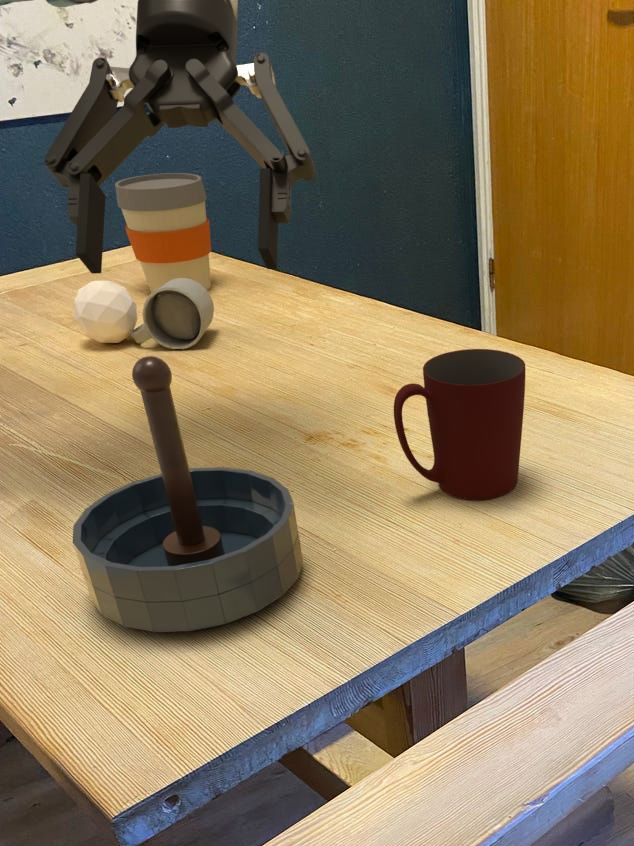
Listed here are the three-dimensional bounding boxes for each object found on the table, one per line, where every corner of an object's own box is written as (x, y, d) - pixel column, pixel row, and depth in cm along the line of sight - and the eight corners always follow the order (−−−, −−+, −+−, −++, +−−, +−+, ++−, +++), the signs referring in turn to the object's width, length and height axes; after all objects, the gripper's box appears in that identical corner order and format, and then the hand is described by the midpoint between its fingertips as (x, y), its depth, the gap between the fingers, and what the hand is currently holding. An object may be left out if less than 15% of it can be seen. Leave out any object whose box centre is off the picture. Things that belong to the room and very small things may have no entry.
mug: (421, 521, 81) (412, 400, 75) (385, 481, 88) (373, 366, 81) (542, 490, 85) (544, 373, 79) (498, 454, 92) (496, 342, 85)
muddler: (160, 582, 73) (100, 365, 63) (190, 554, 76) (138, 344, 66) (209, 590, 72) (157, 371, 62) (238, 562, 75) (193, 349, 65)
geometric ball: (134, 361, 124) (124, 320, 116) (72, 348, 123) (58, 306, 115) (149, 317, 127) (140, 274, 119) (88, 304, 126) (76, 260, 118)
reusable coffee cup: (228, 275, 148) (209, 171, 139) (215, 298, 138) (194, 187, 129) (148, 279, 148) (124, 174, 139) (129, 302, 138) (102, 191, 129)
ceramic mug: (221, 328, 126) (209, 269, 122) (209, 348, 120) (196, 287, 115) (143, 333, 126) (128, 274, 122) (126, 353, 120) (110, 291, 115)
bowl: (49, 621, 70) (24, 553, 67) (169, 520, 83) (153, 458, 79) (239, 656, 66) (223, 585, 63) (336, 544, 79) (327, 479, 75)
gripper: (353, 44, 77) (351, 283, 74) (55, 54, 78) (39, 291, 74) (337, -35, 70) (333, 227, 66) (7, -23, 70) (-13, 237, 67)
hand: (177, 262), depth 70 cm, fingers open, 13 cm apart
